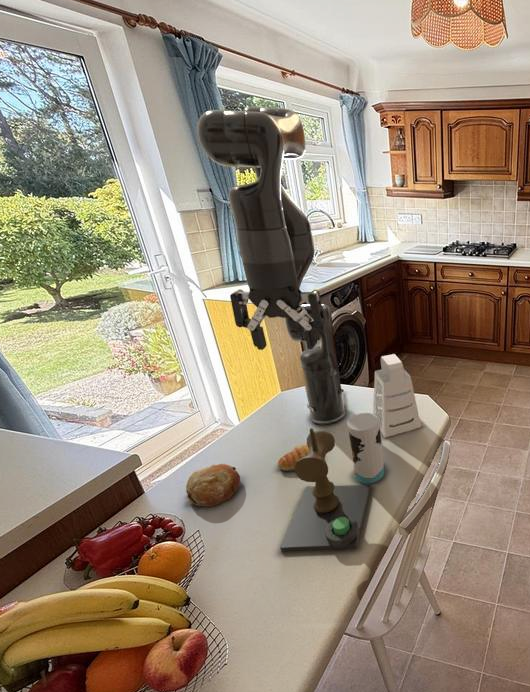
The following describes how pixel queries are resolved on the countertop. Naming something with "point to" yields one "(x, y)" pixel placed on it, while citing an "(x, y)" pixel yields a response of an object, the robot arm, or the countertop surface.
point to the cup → (366, 447)
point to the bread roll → (212, 485)
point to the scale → (327, 521)
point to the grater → (394, 397)
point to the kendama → (318, 470)
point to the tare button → (341, 526)
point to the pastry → (292, 458)
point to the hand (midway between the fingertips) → (287, 347)
